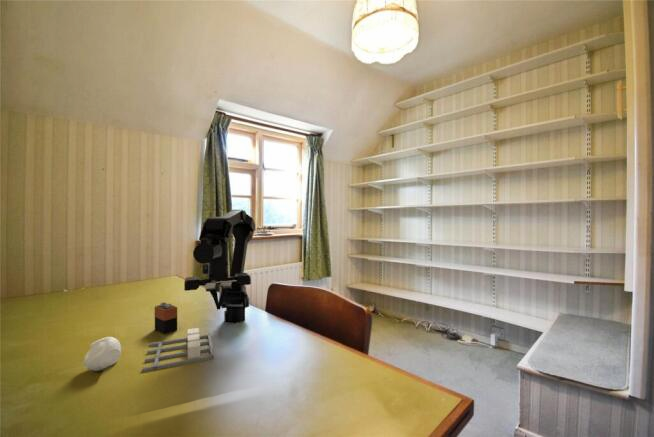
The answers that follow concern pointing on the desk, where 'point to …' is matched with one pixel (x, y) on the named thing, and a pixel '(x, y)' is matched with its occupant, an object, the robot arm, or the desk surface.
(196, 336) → the beige squarish block
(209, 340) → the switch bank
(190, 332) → the cream squarish block
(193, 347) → the cream block
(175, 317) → the battery
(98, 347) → the white rounded piece
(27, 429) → the desk surface
